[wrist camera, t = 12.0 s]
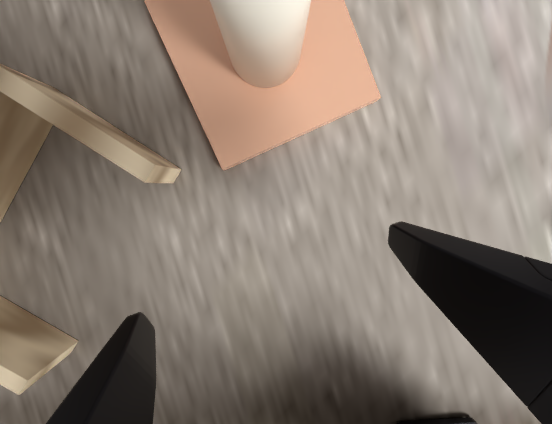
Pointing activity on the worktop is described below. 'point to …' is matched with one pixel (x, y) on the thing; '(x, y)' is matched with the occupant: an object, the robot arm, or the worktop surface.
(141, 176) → the birch stall
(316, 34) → the terracotta tile
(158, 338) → the worktop surface
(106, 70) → the worktop surface
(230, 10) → the cream spice jar
